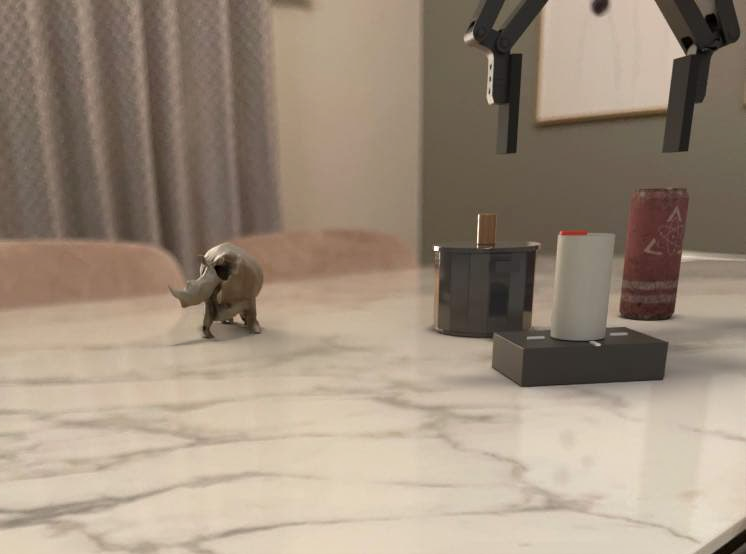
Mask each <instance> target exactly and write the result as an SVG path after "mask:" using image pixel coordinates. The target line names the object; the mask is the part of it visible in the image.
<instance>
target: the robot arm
mask: <svg viewBox="0 0 746 554" xmlns="http://www.w3.org/2000/svg"><path fill="white" fill-rule="evenodd" d="M505 2H506V0H479V1H478V3H477V6H476V8H475V10H474V12H473V15H472V17H471V19H470V21H469V23H468V26H467V28H466V30H465V31H464V35H463V41H464V43H465V45H466V46H467V47H470V48H475V49H478V50H480V51H482V52H484V55H485V56H486V57H487V84H486V100H487V102H488V105H489V106H498V109H497V127H496V144H495V145H496V146H495V147H496V148H495V149H496V150H495V155H511V154H517V149H518V136H519V135H518V134H519V133H518V132H519V116H520V102H521V101H520V100H521V85H522V70H523V67H522V66H523V53H513V52H512V53H511V50H512V48H513V47H514V46H515V44H516V43H517V42H518V41H519V39H520V38H521V37H522V36H523V34H524V33H525V31H526V30H527V29H528V28H529V26H530V25H531V24H532V23H533V21H534V20H535V18H536V17H537V16H538V15H539V13H540V12H541V11H542V10H543V8H544V7H545V5H547V3H548V2H549V0H520V1H519V2H518V3H517V5H516V7H515V8H514V9H513V10H512V12H511V13H510V14H509V16H507V18H506V19H505V20H504V22H503V24H501V26H500V27H499V29H498V30H496V29H493V28H494V25H495V23H496V21H497V19H498V17H499V15H500V12H501V11H502V8H503V6H504V4H505ZM654 2H655V4H656V6H657V8H658V10H659V11H660V13H661V14H662V16H663V18H664V20H665V22H666V23H667V25H668V27H669V29H670V30H671V32H672V34H673V35H674V37H675V39H676V40H677V43H678V45H679V46H680V48H681V49H682V51H683V53H684V56H680V57H677V58H674V59H673V60H672V69H671V77H670V83H669V92H668V102H667V108H666V118H665V124H664V134H663V143H662V148H661V149H662V150H661V153H662V154H667V153H668V154H670V153H684V152H686V153H687V152H689V148H690V147H689V146H690V140H691V132H692V126H693V120H694V119H693V118H694V109H695V105H697V104H702V103H703V102H704V100H705V98H706V95H707V88H708V80H709V73H710V66H711V59H712V56H713V55H714V53H715V52H717V51H719V49H722V48H724V47H727V46H729V45H732V44H735V43H737V42H738V40H739V39H740V37H741V28H740V24H739V20H738V16H737V11H736V8H735V3H734V1H733V0H654Z"/></svg>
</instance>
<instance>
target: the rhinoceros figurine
mask: <svg viewBox="0 0 746 554" xmlns="http://www.w3.org/2000/svg"><path fill="white" fill-rule="evenodd" d="M196 257H197V262H198V263H199V264H200V267H199V278H197V279H196V280H195V279H190V280H187V283H186V284H185V287H184V289H182V290H181V289H176V288H174V287H173V286H172V285H171V284H167V288H168V290H169V292H170V293H171V295H172V297H175V299H177V300H179V302H180V306H181V307H180V308H182V309H186V308H188V307H193V306H199V305H201V304H202V303H203V302H204V307H203V308H204V309H203V319H202V334H203V335H202V336H201V337H202V338H207V339H209V338H216V336H215V335H214V334H212V333H211V327H212V325H213V323H214V322H216V323H219V324H225V323H227V321H228V323H230V324H233V323H235V320H234V318H235V317H236V316H237V315H239V317H240V319H241V321H242V322H243V323H244V324H243V327H246V328H247V329H246V330H249V331H250V332H249V333H250V334H253V333H254V334H255V333H262V330H261V324H260V322H259V320H258V319H257V316H258V313H257V299H256V298H257V297H258V296H259V295H260V293H261V291H262V289H263V285H264V281H265V280H264V271H263V269H262V267H261V264H260V263H259V261H258V259H257V258H255V256H254V255H252V254H251V253H250V252H248V251H247V250H245V249H243V248H242V247H239V246H238V245H236V244H233V243H232V242H229V241H226V242H224V243H221V244H219V245H216V246H214V247H212V248H210V249H209V250H208V251H207V252H206V253H205V254H204V255H203V254H198V255H197V256H196Z"/></svg>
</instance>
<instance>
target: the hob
mask: <svg viewBox="0 0 746 554" xmlns="http://www.w3.org/2000/svg"><path fill="white" fill-rule="evenodd" d="M492 338H493V339H492V354H491V355H492V356H491V367H492V368H493V369H495V370H496V371H498V372H499V373H500V374H502V375H504V376H505V377H507V378H508V379H510V380H511V381H512V382H514V383H515V384H517V385H518V386H520V387H538V386H540V387H541V386H557V385H558V386H559V385H578V384H600V383H618V382H619V383H620V382H637V381H640V382H641V381H657V380H658V381H659V380H665V375H666V374H665V373H666V365H667V357H668V351H669V341H666V340H665V339H660V338H657V337H655V336H652V335H649V334H646V333H643V332H640V331H638V330H635V329H632V328H629V327H627V326H612V327H606V333H605V338H603V339H599V340H592V341H570V340H561V339H556V338H553V337H551V329H542V330H540V329H539V330H531V331H516V332H494V335H493V337H492Z"/></svg>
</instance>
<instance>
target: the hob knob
mask: <svg viewBox="0 0 746 554" xmlns="http://www.w3.org/2000/svg"><path fill="white" fill-rule="evenodd" d="M615 242H616V234H615V233H609V232H588V230H583V229H582V230H581V229H580V230H560V231H559V234H558V235H557V243H556V256H555V257H556V258H555V270H554V271H555V272H554V282H553V283H554V285H553V286H554V287H553V294H552V295H553V296H552V311H551V323H550V330H551V337H553V338H556V339H561V340H570V341H592V340H599V339H603V338H605V333H606V328H607V323H608V322H607V321H608V311H609V302H610V292H611V283H612V271H613V263H614V262H613V261H614V252H615Z"/></svg>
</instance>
